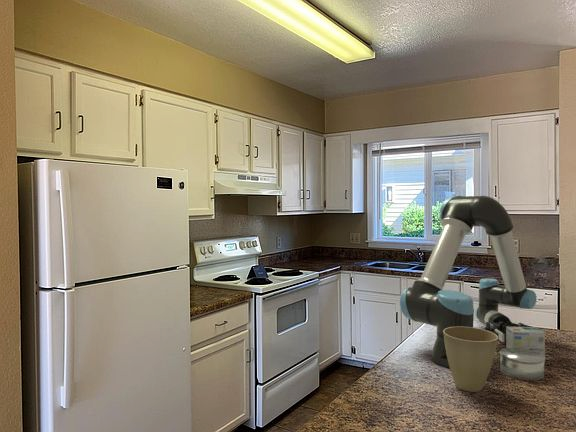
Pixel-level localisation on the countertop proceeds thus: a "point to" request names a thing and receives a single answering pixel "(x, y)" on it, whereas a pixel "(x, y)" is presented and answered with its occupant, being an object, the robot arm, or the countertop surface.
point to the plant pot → (470, 355)
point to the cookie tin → (522, 363)
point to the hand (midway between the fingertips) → (523, 338)
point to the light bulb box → (526, 338)
